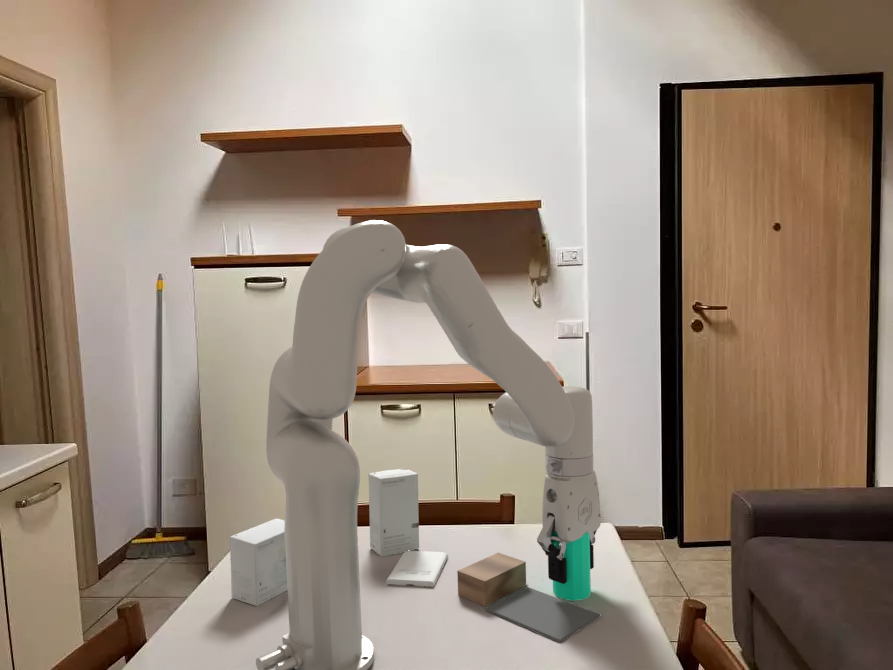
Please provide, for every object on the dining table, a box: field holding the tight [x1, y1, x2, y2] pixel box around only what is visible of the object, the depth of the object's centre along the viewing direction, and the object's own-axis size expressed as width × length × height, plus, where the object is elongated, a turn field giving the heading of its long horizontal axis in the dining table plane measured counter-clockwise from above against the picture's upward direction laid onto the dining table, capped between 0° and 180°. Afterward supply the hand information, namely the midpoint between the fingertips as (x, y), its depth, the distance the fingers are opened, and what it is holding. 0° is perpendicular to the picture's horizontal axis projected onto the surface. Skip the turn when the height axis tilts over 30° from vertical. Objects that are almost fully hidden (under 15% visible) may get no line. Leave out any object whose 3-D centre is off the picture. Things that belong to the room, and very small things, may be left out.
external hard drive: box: [386, 550, 449, 588], centre depth 121 cm, size 2×8×12 cm
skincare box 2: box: [367, 468, 420, 558], centre depth 131 cm, size 8×6×15 cm
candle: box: [552, 532, 591, 601], centre depth 110 cm, size 6×6×12 cm
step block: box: [456, 552, 527, 607], centre depth 112 cm, size 10×6×4 cm, turn 134°
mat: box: [485, 586, 601, 643], centre depth 104 cm, size 10×14×1 cm
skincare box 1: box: [229, 518, 288, 607], centre depth 115 cm, size 10×6×10 cm, turn 148°
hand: (571, 572), depth 110 cm, fingers open, 6 cm apart
